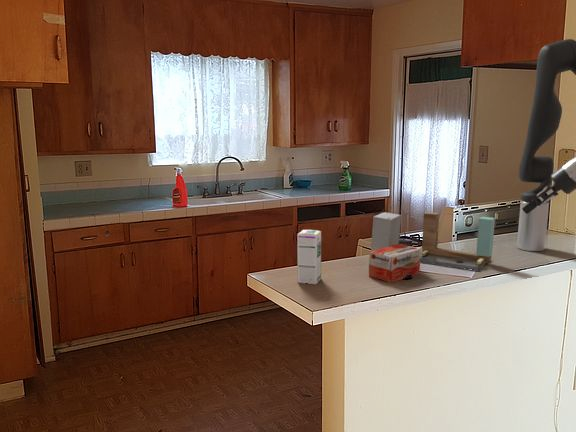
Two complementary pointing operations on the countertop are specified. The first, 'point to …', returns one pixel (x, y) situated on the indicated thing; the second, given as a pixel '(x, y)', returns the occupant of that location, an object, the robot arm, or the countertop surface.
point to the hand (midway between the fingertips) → (527, 209)
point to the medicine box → (394, 262)
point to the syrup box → (309, 256)
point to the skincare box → (385, 230)
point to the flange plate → (451, 261)
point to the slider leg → (485, 237)
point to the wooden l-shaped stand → (432, 240)
